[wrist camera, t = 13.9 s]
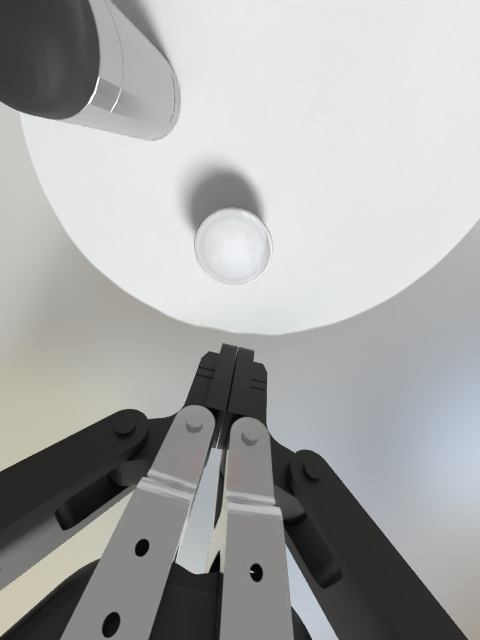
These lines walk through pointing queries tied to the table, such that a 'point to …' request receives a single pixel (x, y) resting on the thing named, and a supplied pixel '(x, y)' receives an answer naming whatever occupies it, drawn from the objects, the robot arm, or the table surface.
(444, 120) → the table surface
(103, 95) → the robot arm
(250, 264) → the ramekin
